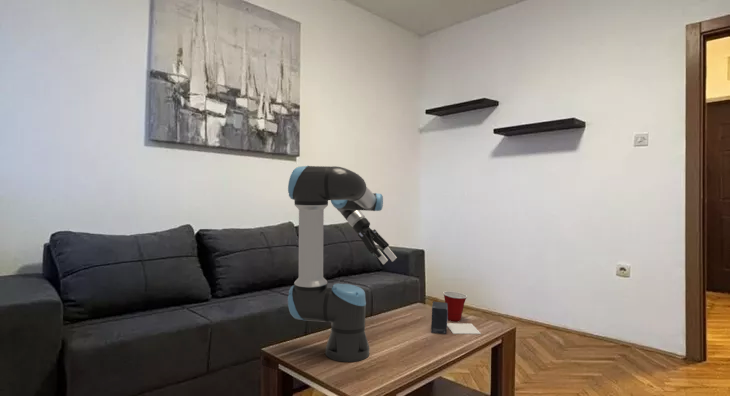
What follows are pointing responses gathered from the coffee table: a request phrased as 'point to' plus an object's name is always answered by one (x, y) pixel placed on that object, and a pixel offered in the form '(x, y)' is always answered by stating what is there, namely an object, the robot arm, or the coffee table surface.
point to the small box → (439, 317)
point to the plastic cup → (454, 304)
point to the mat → (462, 328)
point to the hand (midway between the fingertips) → (390, 261)
